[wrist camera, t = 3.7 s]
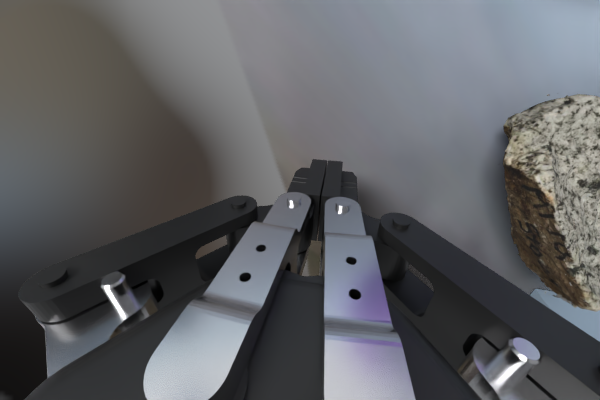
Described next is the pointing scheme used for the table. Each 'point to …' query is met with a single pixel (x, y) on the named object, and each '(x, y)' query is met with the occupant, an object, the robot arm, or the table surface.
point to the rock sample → (557, 194)
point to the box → (570, 312)
